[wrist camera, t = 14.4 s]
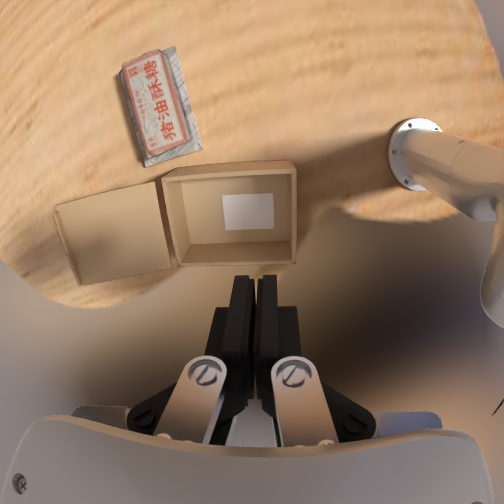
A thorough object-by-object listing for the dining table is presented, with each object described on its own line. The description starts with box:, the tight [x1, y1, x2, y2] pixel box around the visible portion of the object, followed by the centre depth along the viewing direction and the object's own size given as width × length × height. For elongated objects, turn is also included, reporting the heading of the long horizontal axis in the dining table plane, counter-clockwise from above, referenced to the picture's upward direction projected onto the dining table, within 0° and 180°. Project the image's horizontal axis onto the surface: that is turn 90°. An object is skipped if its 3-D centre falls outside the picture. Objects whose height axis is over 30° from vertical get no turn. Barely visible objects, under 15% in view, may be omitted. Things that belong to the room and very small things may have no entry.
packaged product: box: [119, 46, 203, 167], centre depth 35 cm, size 18×5×10 cm
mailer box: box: [161, 160, 297, 267], centre depth 41 cm, size 18×14×7 cm
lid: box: [54, 181, 172, 286], centre depth 36 cm, size 16×14×2 cm
